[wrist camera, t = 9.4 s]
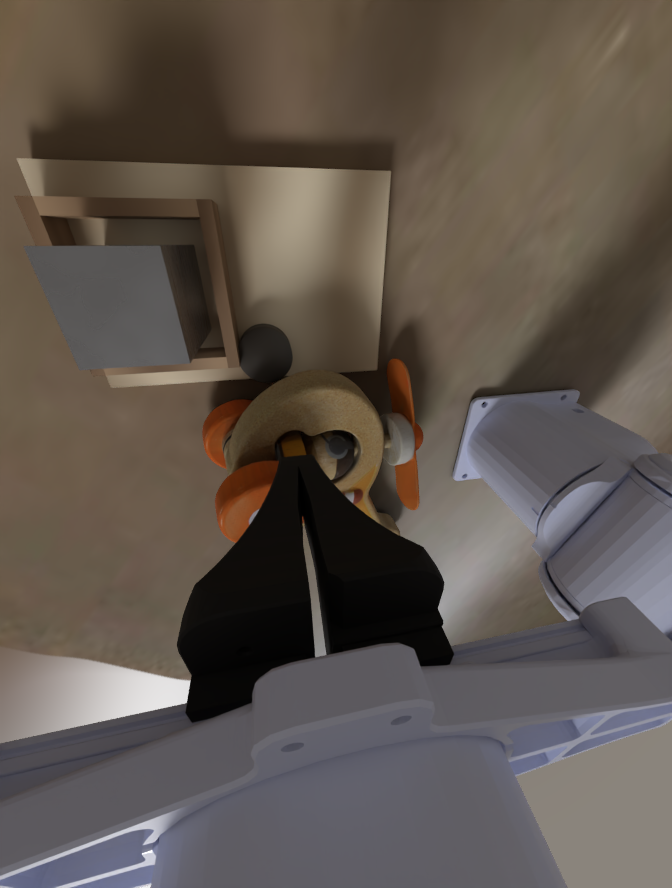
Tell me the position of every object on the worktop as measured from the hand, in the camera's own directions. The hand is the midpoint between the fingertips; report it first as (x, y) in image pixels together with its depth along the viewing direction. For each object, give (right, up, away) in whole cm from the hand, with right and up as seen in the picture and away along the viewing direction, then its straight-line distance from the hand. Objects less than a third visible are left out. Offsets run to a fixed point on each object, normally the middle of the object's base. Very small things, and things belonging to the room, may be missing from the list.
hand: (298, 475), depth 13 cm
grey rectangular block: (-7, +9, +3) cm, 12 cm away
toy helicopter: (-3, -5, +10) cm, 11 cm away
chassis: (-4, +10, +5) cm, 12 cm away
